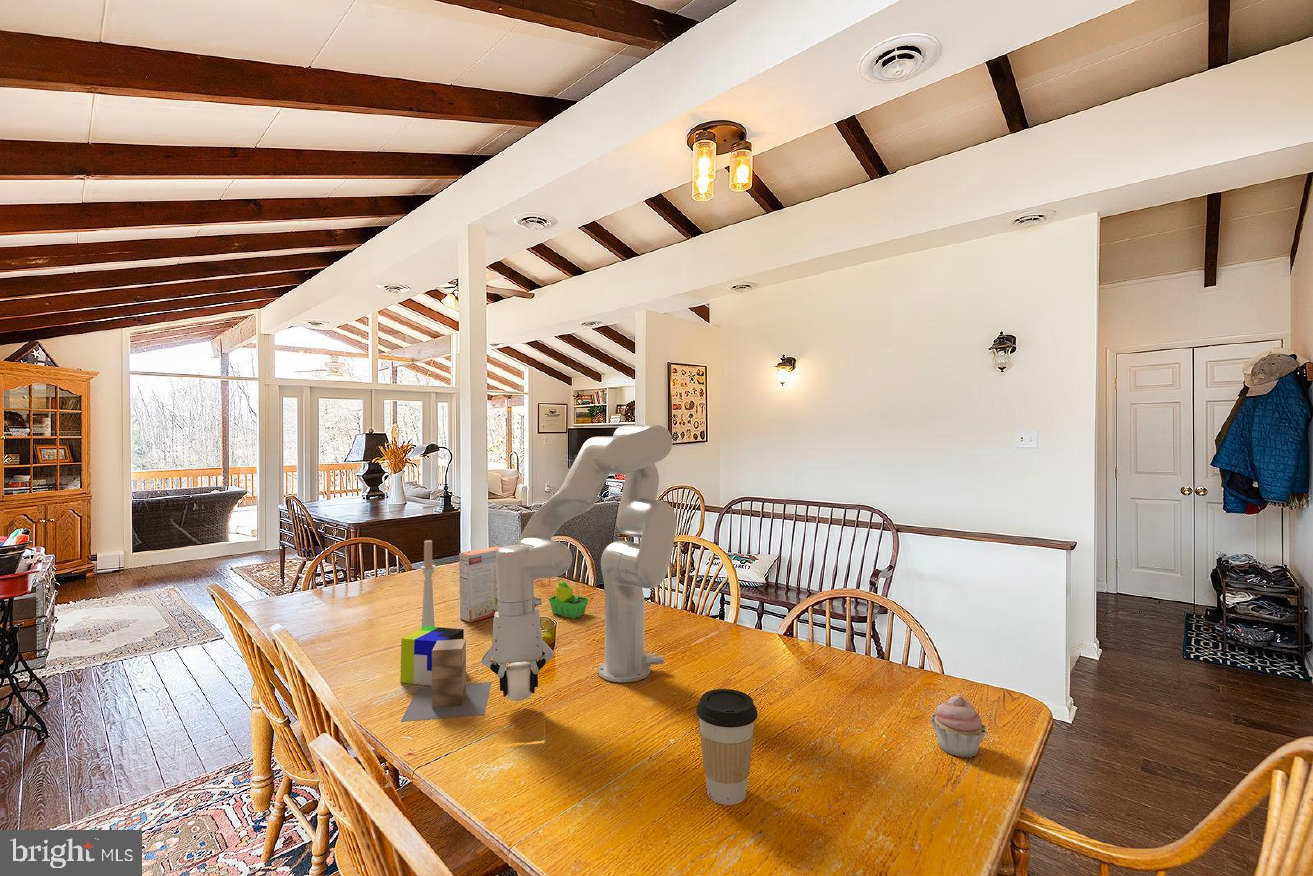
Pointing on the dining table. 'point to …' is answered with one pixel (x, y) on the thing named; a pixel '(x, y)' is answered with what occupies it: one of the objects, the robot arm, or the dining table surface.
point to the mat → (471, 707)
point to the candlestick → (428, 587)
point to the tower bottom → (448, 691)
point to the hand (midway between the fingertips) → (519, 691)
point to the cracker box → (478, 584)
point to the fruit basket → (567, 602)
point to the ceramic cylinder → (518, 681)
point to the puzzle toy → (422, 653)
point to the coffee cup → (726, 743)
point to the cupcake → (958, 727)
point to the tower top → (449, 659)
